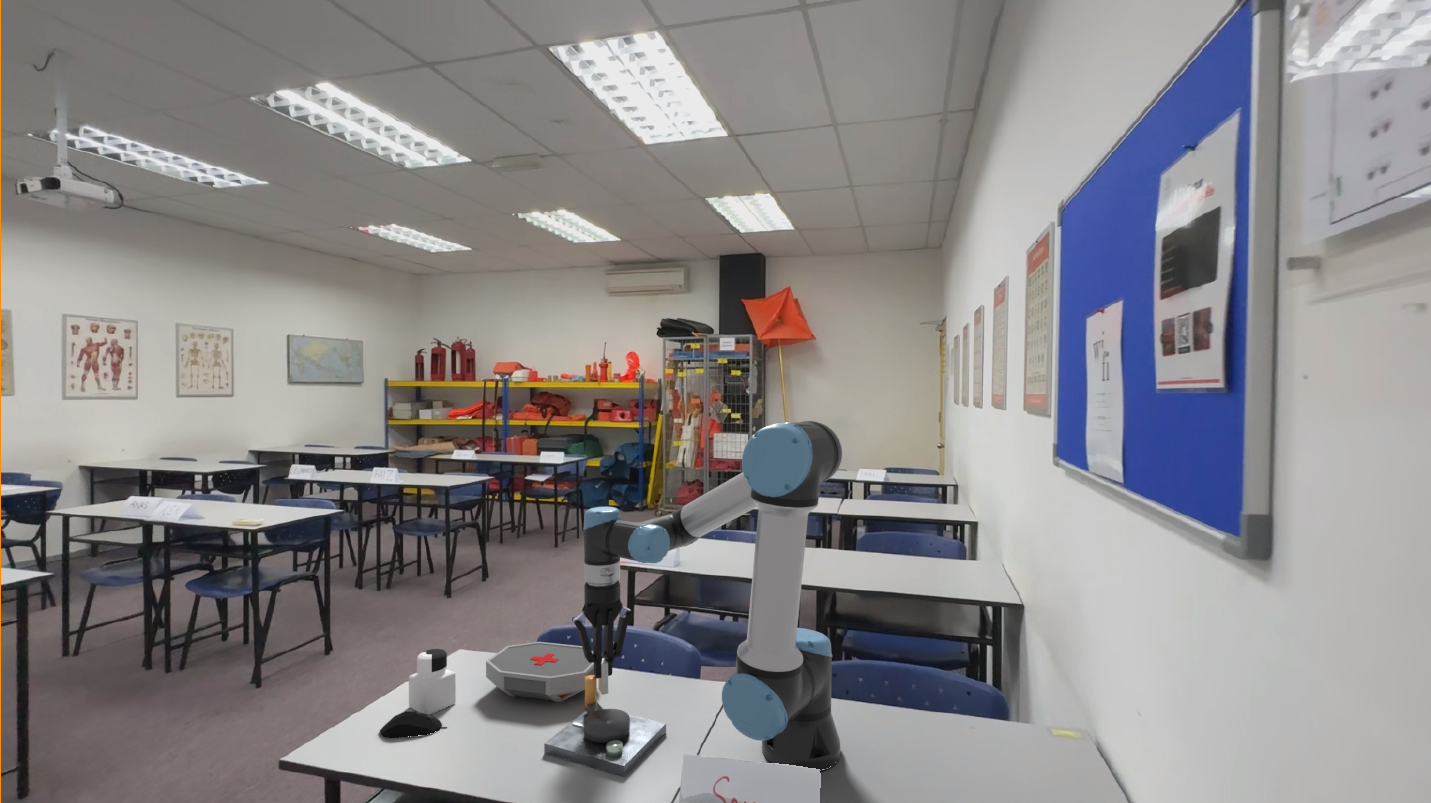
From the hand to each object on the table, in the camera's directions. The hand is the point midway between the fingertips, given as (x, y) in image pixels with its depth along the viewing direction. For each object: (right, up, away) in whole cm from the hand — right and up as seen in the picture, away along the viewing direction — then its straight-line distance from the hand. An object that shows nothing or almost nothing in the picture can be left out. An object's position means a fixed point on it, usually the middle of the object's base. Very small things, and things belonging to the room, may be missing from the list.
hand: (603, 691), depth 134 cm
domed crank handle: (+1, -4, -6) cm, 7 cm away
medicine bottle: (-39, -6, +6) cm, 40 cm away
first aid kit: (-16, -6, +14) cm, 22 cm away
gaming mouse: (-38, -7, -3) cm, 39 cm away
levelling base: (+2, -6, -9) cm, 11 cm away
